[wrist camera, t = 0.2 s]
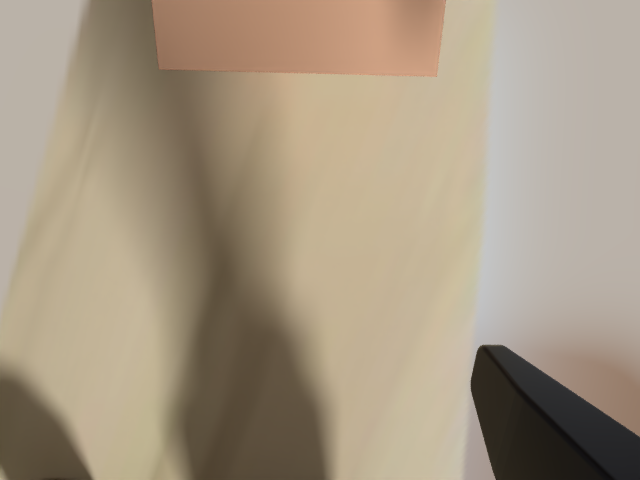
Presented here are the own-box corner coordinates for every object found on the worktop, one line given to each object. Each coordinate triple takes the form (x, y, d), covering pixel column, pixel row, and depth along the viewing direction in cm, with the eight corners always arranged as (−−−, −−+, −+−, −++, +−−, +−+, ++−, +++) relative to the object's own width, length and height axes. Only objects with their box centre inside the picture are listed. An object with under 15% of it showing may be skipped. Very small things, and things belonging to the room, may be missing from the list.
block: (382, 63, 20) (436, 76, 12) (220, 58, 20) (158, 69, 11) (386, 7, 19) (448, -20, 11) (217, 2, 19) (148, -30, 11)
